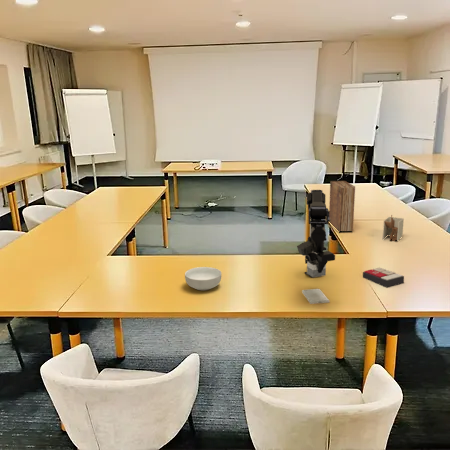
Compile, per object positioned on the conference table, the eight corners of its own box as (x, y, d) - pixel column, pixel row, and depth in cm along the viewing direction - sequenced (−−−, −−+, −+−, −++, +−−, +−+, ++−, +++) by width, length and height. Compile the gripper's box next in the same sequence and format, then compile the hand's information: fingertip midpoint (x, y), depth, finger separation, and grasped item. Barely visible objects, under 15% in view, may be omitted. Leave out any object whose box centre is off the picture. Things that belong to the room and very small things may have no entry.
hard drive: (301, 289, 197) (310, 301, 185) (319, 288, 198) (329, 299, 186) (301, 293, 197) (310, 305, 185) (319, 292, 198) (329, 303, 186)
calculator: (379, 266, 216) (404, 274, 203) (379, 274, 217) (404, 283, 204) (362, 270, 211) (387, 279, 198) (362, 279, 212) (386, 288, 199)
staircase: (382, 240, 269) (384, 214, 265) (387, 236, 278) (389, 210, 273) (397, 243, 264) (399, 215, 260) (402, 238, 273) (404, 212, 268)
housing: (319, 271, 191) (319, 258, 190) (325, 275, 187) (326, 262, 185) (306, 273, 189) (307, 260, 188) (312, 277, 185) (313, 264, 183)
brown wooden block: (353, 232, 286) (355, 186, 278) (338, 233, 286) (340, 187, 278) (341, 222, 310) (343, 180, 303) (328, 223, 310) (330, 180, 302)
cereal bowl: (209, 297, 194) (209, 282, 192) (178, 290, 202) (177, 275, 200) (228, 283, 208) (228, 269, 206) (198, 278, 216) (197, 264, 214)
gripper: (289, 231, 190) (288, 266, 194) (311, 243, 173) (310, 281, 177) (312, 228, 193) (311, 262, 197) (336, 240, 176) (335, 277, 180)
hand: (316, 270), depth 188 cm, fingers closed on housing, 5 cm apart
